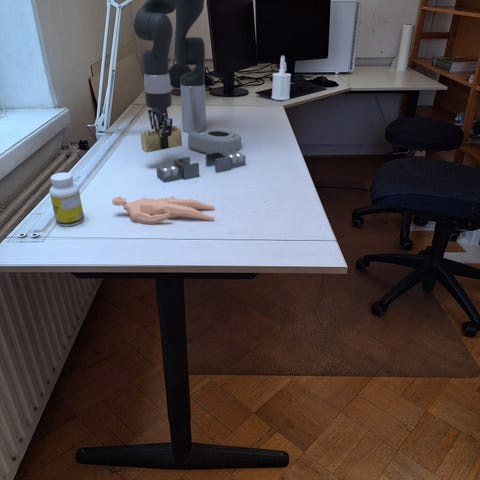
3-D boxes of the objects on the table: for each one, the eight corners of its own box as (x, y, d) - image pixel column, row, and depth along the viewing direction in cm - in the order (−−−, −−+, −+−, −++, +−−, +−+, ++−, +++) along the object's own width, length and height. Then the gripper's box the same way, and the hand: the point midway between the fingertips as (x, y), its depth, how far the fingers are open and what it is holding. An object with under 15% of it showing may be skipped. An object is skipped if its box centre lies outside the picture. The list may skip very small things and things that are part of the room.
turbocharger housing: (249, 151, 157) (220, 142, 166) (250, 133, 154) (221, 124, 163) (214, 159, 146) (185, 148, 155) (215, 140, 143) (185, 130, 152)
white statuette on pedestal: (272, 95, 229) (274, 54, 219) (290, 96, 228) (292, 54, 218) (270, 100, 220) (272, 57, 210) (289, 101, 219) (292, 57, 209)
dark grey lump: (169, 91, 236) (167, 61, 229) (193, 90, 237) (192, 61, 230) (168, 96, 225) (166, 65, 217) (194, 96, 226) (193, 65, 219)
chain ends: (155, 175, 133) (154, 163, 131) (235, 159, 146) (235, 147, 144) (165, 183, 127) (164, 170, 125) (247, 166, 140) (247, 154, 138)
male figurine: (214, 213, 105) (106, 205, 103) (213, 231, 107) (108, 224, 105) (215, 194, 114) (116, 187, 112) (213, 211, 116) (117, 204, 115)
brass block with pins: (141, 149, 136) (140, 130, 133) (176, 142, 142) (175, 124, 139) (146, 152, 133) (144, 133, 130) (182, 145, 139) (181, 127, 136)
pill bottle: (60, 215, 110) (50, 171, 104) (87, 214, 110) (79, 170, 104) (53, 227, 104) (42, 181, 98) (81, 227, 105) (72, 181, 99)
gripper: (179, 93, 125) (182, 151, 134) (160, 83, 135) (164, 138, 144) (154, 96, 122) (159, 155, 131) (136, 85, 132) (142, 141, 141)
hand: (162, 146), depth 137 cm, fingers closed on brass block with pins, 3 cm apart
